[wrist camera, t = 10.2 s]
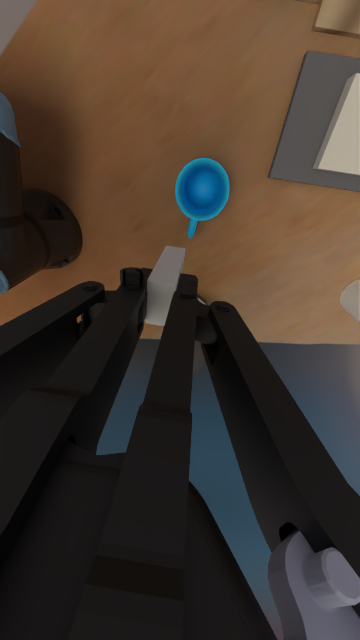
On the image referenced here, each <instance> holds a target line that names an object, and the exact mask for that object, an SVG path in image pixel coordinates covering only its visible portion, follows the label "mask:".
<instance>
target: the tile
mask: <svg viewBox="0 0 360 640" xmlns="http://www.w3.org/2000/svg"><path fill="white" fill-rule="evenodd" d="M312 169H318V170H324V171H330V172H337V173H343V174H350V175H356V176H360V73H355V74H354V75H352V76H351V77H350V78H348V79H347V81H346V84H345V86H344V89H343V91H342V94H341V97H340V99H339V102H338V104H337V107H336V109H335V112H334V114H333V117H332V120H331V122H330V125H329V127H328V130H327V132H326V135H325V138H324V140H323V143H322V145H321V148H320V150H319V153H318V155H317V158H316V161H315V163H314V166H313V168H312Z"/></svg>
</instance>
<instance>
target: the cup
mask: <svg viewBox="0 0 360 640" xmlns="http://www.w3.org/2000/svg"><path fill="white" fill-rule="evenodd" d="M340 304H341V305H342V307H343V308H344V309H345V310H346V311H347V312H348V313H349V314H351V315H352V316H353V317H354V318H355V319H356V320H357V321H358V322H359V323H360V279H357V280H355V281H353V282H352V283H350V284H349V285H348V286H346V287H345V289H344V290H343V291H342V293H341V295H340Z"/></svg>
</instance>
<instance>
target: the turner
mask: <svg viewBox="0 0 360 640" xmlns="http://www.w3.org/2000/svg"><path fill="white" fill-rule="evenodd" d="M297 1H303V2H309V3H314V4H319V8H318V11H317V14H316V17H315V21H314V24H313V27H312V31H316V32H322V33H328V34H334V35H340V36H346V37H352V38H359V39H360V0H297Z"/></svg>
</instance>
